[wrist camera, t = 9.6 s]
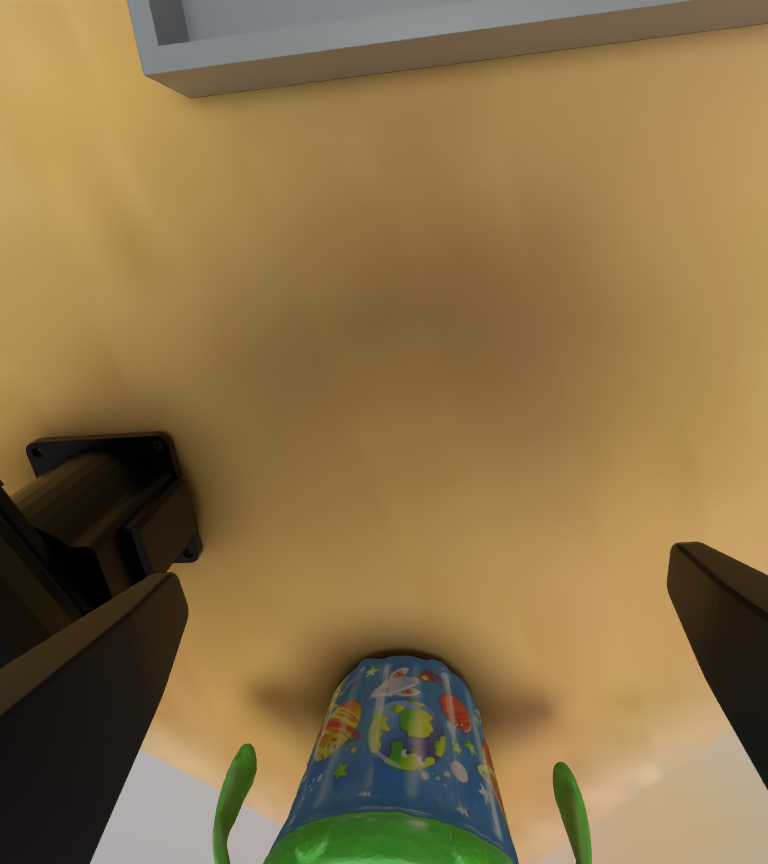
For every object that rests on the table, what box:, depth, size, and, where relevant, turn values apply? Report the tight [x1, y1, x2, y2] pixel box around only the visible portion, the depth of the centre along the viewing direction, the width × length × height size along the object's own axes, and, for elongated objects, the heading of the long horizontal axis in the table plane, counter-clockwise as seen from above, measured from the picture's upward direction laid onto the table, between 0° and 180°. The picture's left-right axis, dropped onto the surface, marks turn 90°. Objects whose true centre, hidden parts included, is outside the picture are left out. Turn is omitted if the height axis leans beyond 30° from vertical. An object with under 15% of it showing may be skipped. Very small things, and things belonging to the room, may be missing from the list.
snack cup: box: [213, 655, 592, 864], centre depth 22 cm, size 16×10×10 cm
